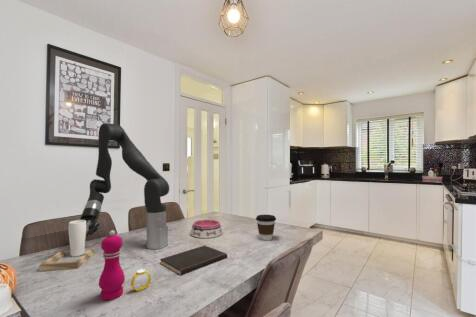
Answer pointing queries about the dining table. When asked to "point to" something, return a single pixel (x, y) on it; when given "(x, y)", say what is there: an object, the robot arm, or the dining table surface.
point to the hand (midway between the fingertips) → (80, 242)
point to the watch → (140, 274)
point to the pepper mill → (111, 268)
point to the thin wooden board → (51, 264)
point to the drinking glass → (77, 237)
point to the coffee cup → (266, 226)
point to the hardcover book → (193, 259)
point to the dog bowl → (206, 229)
